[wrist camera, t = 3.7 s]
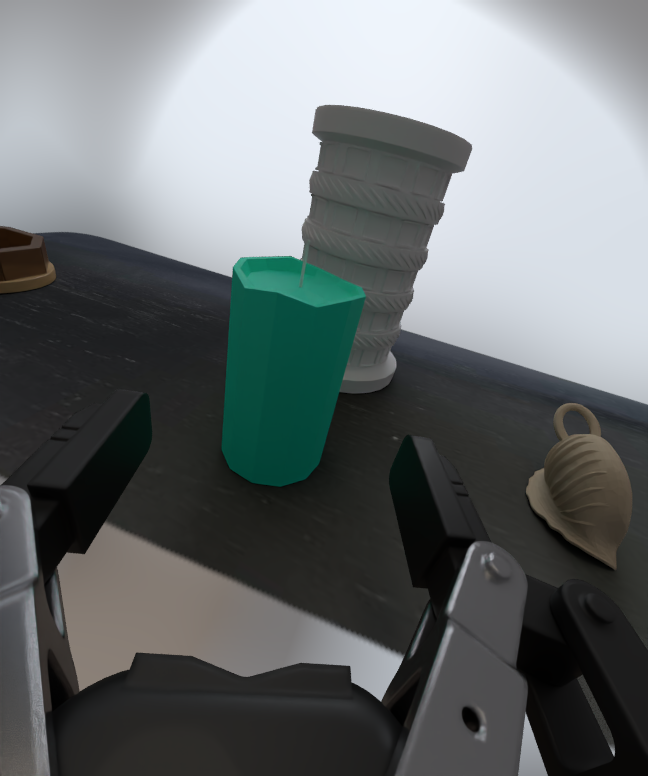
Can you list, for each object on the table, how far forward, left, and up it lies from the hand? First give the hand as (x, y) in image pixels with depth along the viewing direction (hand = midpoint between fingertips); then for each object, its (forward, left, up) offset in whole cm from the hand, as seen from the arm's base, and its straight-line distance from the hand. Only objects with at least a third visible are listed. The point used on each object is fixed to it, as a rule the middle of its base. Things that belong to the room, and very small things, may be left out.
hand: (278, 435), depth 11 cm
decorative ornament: (+19, -4, -7) cm, 21 cm away
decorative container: (+14, +15, -7) cm, 22 cm away
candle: (+4, +6, -7) cm, 10 cm away
